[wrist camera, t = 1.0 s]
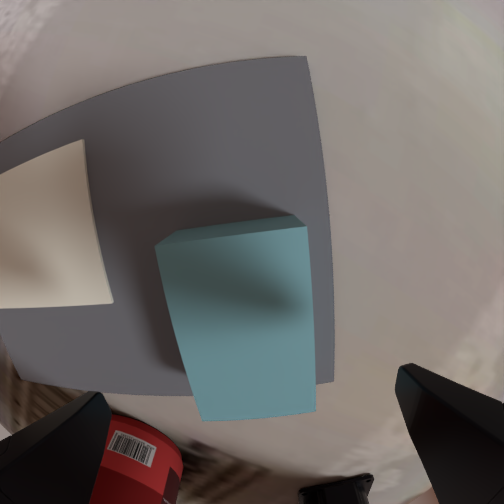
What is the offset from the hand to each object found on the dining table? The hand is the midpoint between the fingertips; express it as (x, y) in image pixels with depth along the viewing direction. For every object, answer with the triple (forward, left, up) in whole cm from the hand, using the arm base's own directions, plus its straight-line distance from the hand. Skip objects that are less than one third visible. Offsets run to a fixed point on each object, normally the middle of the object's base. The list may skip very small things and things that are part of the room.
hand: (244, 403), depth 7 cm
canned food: (-11, +10, -7) cm, 16 cm away
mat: (+3, +7, -6) cm, 10 cm away
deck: (0, 0, -6) cm, 6 cm away
